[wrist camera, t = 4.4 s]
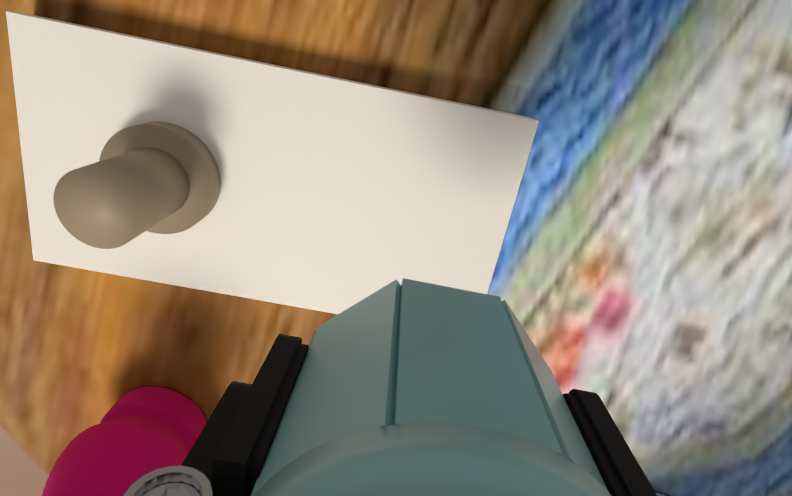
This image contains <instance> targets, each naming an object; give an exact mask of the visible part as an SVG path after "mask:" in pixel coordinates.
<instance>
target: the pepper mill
mask: <svg viewBox="0 0 792 496" xmlns="http://www.w3.org/2000/svg"><path fill="white" fill-rule="evenodd" d="M206 423H207V422H206V419H205V416H204V414H203V413H202V411H201V410H200V409H199V407H198V406H197V405H196V404H195V403H194V402H192V401H191V400H190V399H189V398H188V397H186V396H184V395H182V394H180V393H178V392H176V391H174V390H170V389H167V388H163V387H151V386H146V387H141V388H137V389H134V390H131V391H129V392H127V393H126V394H124V395H123V396H121V397H120V398H119V400H118V401H117V402H116V403H115V404H114V405H113V407H112V408H111V409H110V410H109V411H108V412H107V414H106V415H105V416H104V417H103V419H102V421H101V423H100V424H97V425H94V426H92V427H90V428H88V429H86V430H85V431H83V432H81V433H80V434H79V435H78V436H76V437H75V438H74V439H73V440H72V441H71V442H70V443H69V444H68V446H67V447H66V449H65V450H64V451H63V453H62V454H61V455H60V457H59V458H58V459H57V461H56V463H55V465H54V467H53V469H52V471H51V473H50V475H49V477H48V479H47V482H46V485H45V488H44V491H43V494H42V496H124V494H125V493H126V492H127V490H128V489H129V488H130V486H131V485H132V484H133V483H135V482H136V481H137V480H138V479H140V478H141V477H142V476H144V475H146V474H148V473H150V472H152V471H154V470H156V469H160V468H164V467H168V466H181V465H182V463H183V461H184V460H185V458H186V456H187V455H188V453H189V451H190V450H191V448H192V446H193V445H194V443H195V441H196V440H197V438H198V436H199V435H200V433H201V431H202V430H203V428H204V426H205V425H206Z"/></svg>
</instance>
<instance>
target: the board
mask: <svg viewBox="0 0 792 496" xmlns="http://www.w3.org/2000/svg"><path fill="white" fill-rule="evenodd" d="M6 16H7V25H8V34H9V43H10V52H11V61H12V70H13V80H14V89H15V98H16V107H17V116H18V125H19V134H20V143H21V152H22V161H23V170H24V179H25V188H26V197H27V206H28V215H29V224H30V233H31V242H32V251H33V260H35V261H41V262H46V263H52V264H58V265H63V266H69V267H75V268H80V269H86V270H92V271H97V272H103V273H109V274H114V275H120V276H125V277H131V278H137V279H142V280H148V281H154V282H159V283H165V284H171V285H176V286H182V287H188V288H193V289H199V290H204V291H210V292H216V293H221V294H227V295H233V296H238V297H244V298H250V299H255V300H261V301H266V302H272V303H278V304H283V305H289V306H295V307H300V308H306V309H312V310H317V311H323V312H329V313H334V314H340V313H341V312H343V311H345V310H346V309H348V308H350V307H351V306H353V305H355V304H356V303H358V302H360V301H361V300H363V299H365V298H366V297H368V296H370V295H371V294H373V293H374V292H376V291H378V290H379V289H381V288H383V287H384V286H386V285H388V284H389V283H391V282H393V281H394V280H396V279H397V281H398V282H399V283H400V285H401V284H402V280H403V278H405V279H410V280H415V281H420V282H425V283H431V284H436V285H441V286H446V287H451V288H457V289H462V290H467V291H472V292H477V293H483V294H487V292H488V289H489V286H490V282H491V279H492V276H493V272H494V269H495V266H496V263H497V259H498V256H499V253H500V249H501V246H502V243H503V239H504V236H505V233H506V229H507V226H508V223H509V219H510V216H511V213H512V209H513V206H514V203H515V199H516V196H517V193H518V189H519V186H520V183H521V180H522V176H523V173H524V170H525V166H526V163H527V160H528V156H529V153H530V150H531V146H532V143H533V140H534V136H535V133H536V130H537V126H538V123H539V121H538V120H536V119H533V118H531V117H527V116H522V115H517V114H513V113H508V112H503V111H498V110H493V109H488V108H483V107H479V106H474V105H469V104H464V103H459V102H454V101H449V100H444V99H440V98H435V97H430V96H425V95H420V94H415V93H410V92H406V91H401V90H396V89H391V88H386V87H381V86H376V85H372V84H367V83H362V82H357V81H352V80H347V79H342V78H337V77H333V76H328V75H323V74H318V73H313V72H308V71H303V70H299V69H294V68H289V67H284V66H279V65H274V64H269V63H265V62H260V61H255V60H250V59H245V58H240V57H235V56H230V55H226V54H221V53H216V52H211V51H206V50H201V49H196V48H192V47H187V46H182V45H177V44H172V43H167V42H162V41H158V40H153V39H148V38H143V37H138V36H133V35H128V34H123V33H119V32H114V31H109V30H104V29H99V28H94V27H89V26H85V25H80V24H75V23H70V22H65V21H60V20H55V19H51V18H46V17H41V16H36V15H30V14H22V13H14V12H6Z"/></svg>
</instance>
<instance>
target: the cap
mask: <svg viewBox="0 0 792 496" xmlns="http://www.w3.org/2000/svg"><path fill="white" fill-rule="evenodd" d="M251 496H611V494H610V493H609V491H608V489H607V487H606V485H605V483H604V481H603V479H602V477H601V475H600V472H599V470H598V468H597V466H596V464H595V462H594V460H593V458H592V456H591V454H590V451H589V449H588V447H587V445H586V443H585V441H584V439H583V437H582V435H581V432H580V430H579V428H578V426H577V424H576V422H575V420H574V418H573V416H572V414H571V411H570V409H569V407H568V405H567V403H566V401H565V399H564V397H563V395H562V392H561V390H560V388H559V386H558V384H557V382H556V380H555V378H554V376H553V374H552V371H551V370H550V368H549V367H548V365H547V364H546V362H545V361H544V359H543V357H542V356H541V354H540V353H539V351H538V350H537V348H536V347H535V345H534V344H533V342H532V341H531V339H530V338H529V336H528V335H527V333H526V332H525V330H524V329H523V327H522V325H521V324H520V322H519V321H518V319H517V318H516V316H515V315H514V313H513V312H512V310H511V309H510V307H509V306H508V304H507V303H506V301H505V300H504V301H501V299H500V297H498V296H493V295H488V294H483V293H477V292H472V291H467V290H462V289H457V288H451V287H446V286H441V285H436V284H431V283H425V282H420V281H415V280H410V279H405V278H403V280H402V284H401V285H400V283H399V282H398V281H397V279H396V280H394V281H393V282H391V283H389V284H388V285H386V286H384V287H383V288H381V289H379V290H378V291H376V292H374V293H373V294H371V295H370V296H368V297H366V298H365V299H363V300H361V301H360V302H358V303H356V304H355V305H353V306H351V307H350V308H348V309H346V310H345V311H343V312H341V313H340V314H338V315H336V316H335V317H333V318H331V319H330V320H328V321H326V322H325V323H323V324H321V325H320V326H318V328H317V330H316V331H315V332H314V334H313V337H312V340H311V342H310V345H309V348H308V352H307V355H306V357H305V360H304V362H303V365H302V367H301V370H300V373H299V375H298V378H297V380H296V383H295V385H294V388H293V391H292V393H291V396H290V398H289V401H288V403H287V406H286V409H285V411H284V414H283V416H282V419H281V421H280V424H279V427H278V429H277V432H276V434H275V437H274V439H273V442H272V445H271V447H270V450H269V452H268V455H267V457H266V460H265V463H264V465H263V468H262V470H261V473H260V475H259V478H257V481H256V483H255V486H254V489H253V491H252V494H251Z"/></svg>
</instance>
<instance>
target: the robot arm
mask: <svg viewBox="0 0 792 496" xmlns="http://www.w3.org/2000/svg"><path fill="white" fill-rule="evenodd" d="M301 343H302V339H301V338H299V337H294V336H288V335H283V334H279V335H278V337H277V338H276V340H275V342H274V344H273V346H272V348H271V350H270V352H269V354H268V356H267V357H266V359H265V361H264V363H263V365H262V367H261V369H260V371H259V373H258V374H257V376H256V378H255V380H254V382H253V384H246V383H241V382H235V381H233V382H232V383H231V384H230V385H229V387H228V388H227V390H226V391H225V393H224V395H223V396H222V398H221V400H220V401H219V403H218V405H217V406H216V408H215V410H214V411H213V413H212V415H211V416H210V418H209V420H208V421H207V423H206V425H205V426H204V428H203V430H202V431H201V433H200V435H199V436H198V438H197V440H196V441H195V443H194V445H193V446H192V448H191V450H190V451H189V453H188V455H187V456H186V458H185V460H184V461H183V463H182V465H181V466H168V467H164V468H160V469H156V470H154V471H152V472H150V473H148V474H146V475H144V476H142V477H141V478H140V479H138V480H137V481H136V482H135V483H133V484H132V485H131V486H130V488H129V489H128V490H127V492H126V493H125V494H124V496H251V494H252V491H253V489H254V486H255V483H256V481H257V478H259V475H260V473H261V470H262V468H263V465H264V463H265V460H266V457H267V455H268V452H269V450H270V447H271V445H272V442H273V439H274V437H275V434H276V432H277V429H278V427H279V424H280V421H281V419H282V416H283V414H284V411H285V409H286V406H287V403H288V401H289V398H290V396H291V393H292V391H293V388H294V385H295V383H296V380H297V378H298V375H299V373H300V370H301V367H302V365H303V362H304V360H305V357H306V355H307V352H308V348H309V346H308V345H304V344H301ZM563 397H564V399H565V401H566V403H567V405H568V407H569V409H570V411H571V414H572V416H573V418H574V420H575V422H576V424H577V426H578V428H579V430H580V432H581V435H582V437H583V439H584V441H585V443H586V445H587V447H588V449H589V451H590V454H591V456H592V458H593V460H594V462H595V464H596V466H597V468H598V470H599V472H600V475H601V477H602V479H603V481H604V483H605V485H606V487H607V489H608V491H609V493H610V494H611V496H665V495H662V494H659V493H656V492H655V491H654V490H653V488H652V486H651V484H650V483H649V481H648V479H647V478H646V476H645V474H644V472H643V471H642V469H641V467H640V466H639V464H638V462H637V460H636V459H635V457H634V455H633V454H632V452H631V450H630V448H629V447H628V445H627V443H626V442H625V440H624V438H623V436H622V435H621V433H620V431H619V430H618V428H617V426H616V424H615V423H614V421H613V419H612V418H611V416H610V414H609V412H608V411H607V409H606V407H605V406H604V404H603V402H602V400H601V399H600V397H599V396H598V395H597V394H596V393H593V392H587V391H582V390H577V389H573V390H571V391H570V392H569V394H566V393H565V394H563Z"/></svg>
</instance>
